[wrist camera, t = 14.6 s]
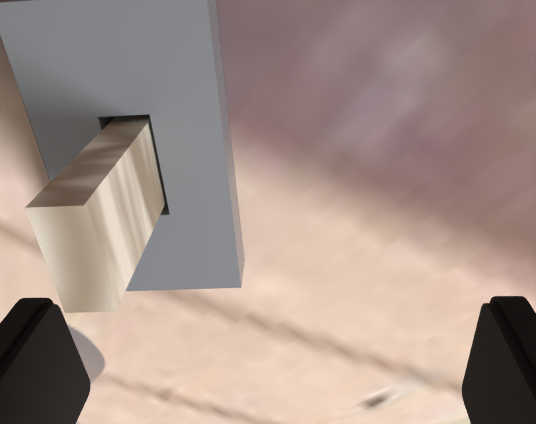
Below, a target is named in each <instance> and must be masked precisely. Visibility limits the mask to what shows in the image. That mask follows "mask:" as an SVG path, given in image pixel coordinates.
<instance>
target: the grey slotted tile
mask: <svg viewBox="0 0 536 424" xmlns="http://www.w3.org/2000/svg"><path fill="white" fill-rule="evenodd" d="M0 36H1V39H2V42H3V45H4V48H5V51H6V54H7V56H8V59H9V62H10V65H11V68H12V71H13V74H14V77H15V80H16V83H17V86H18V89H19V91H20V94H21V97H22V100H23V103H24V106H25V109H26V112H27V115H28V118H29V121H30V124H31V127H32V129H33V132H34V135H35V138H36V141H37V144H38V147H39V150H40V153H41V156H42V159H43V162H44V165H45V167H46V170H47V173H48V176H49V179H50V182H51V181H52V180H53V179H54V178H55V177H56V176H57V175H58V174H59V173H60V172H61V171H62V170H63V169H64V168H65V167H66V166H67V165H68V164H69V163H70V162H71V161H72V160H73V159H74V158H75V157H76V156H77V155H78V154H79V153H80V152H81V151H82V150H83V149H84V148H85V147H86V146H87V145H88V144H89V143H90V142H91V141H92V140H93V139H94V138H95V137H96V136H97V135H98V134H99V133H100V132H101V131H102V130H103V129H104V128H105V127H106V126H107V125H108V124H109V123H110V122H111V121H112V120H113V119H114V118H115V117H116V116H127V115H146V114H150V119H151V124H152V129H153V134H154V139H155V144H156V149H157V154H158V159H159V164H160V169H161V174H162V178H163V183H164V188H165V193H166V198H167V201H166V203H165V206H164V208H163V210H162V212H161V214H160V217H159V219H158V221H157V223H156V225H155V227H154V230H153V232H152V234H151V236H150V238H149V240H148V243H147V245H146V247H145V249H144V251H143V254H142V256H141V258H140V260H139V262H138V264H137V267H136V269H135V271H134V273H133V275H132V278H131V280H130V282H129V284H128V286H127V288H126V291H146V290H178V289H211V288H241V285H242V277H243V268H244V252H243V243H242V234H241V225H240V216H239V207H238V198H237V189H236V180H235V171H234V162H233V153H232V143H231V134H230V125H229V116H228V107H227V98H226V89H225V80H224V71H223V62H222V53H221V44H220V35H219V25H218V16H217V7H216V0H5V1H0Z"/></svg>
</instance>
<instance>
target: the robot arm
mask: <svg viewBox="0 0 536 424" xmlns="http://www.w3.org/2000/svg"><path fill="white" fill-rule="evenodd" d="M89 392H90V379H89V377H88V374H87V372H86V370H85V367H84V365H83V362H82V360H81V357H80V355H79V353H78V350H77V348H76V345H75V343H74V341H73V338H72V336H71V333H70V331H69V329H68V326H67V324H66V321H65V319H64V316H63V314H62V312H61V309H60V307H59V306H58V305H57V304H54V303H53V301H52V300H51V299H49V298H22V299H20V300H19V301H18V302H17V303H16V304H15V305H14V307H13V308H12V309H11V310H10V312H9V313H8V314H7V316H6V317H5V318H4V319H3V321H2V322H1V323H0V424H76V422H77V419H78V417H79V415H80V413H81V411H82V409H83V406H84V404H85V402H86V400H87V398H88V395H89ZM462 396H463V401H464V405H465V407H466V410H467V413H468V416H469V419H470V422H471V424H536V313H535V312H534V310H533V308H532V307H531V305H530V303H529V302H528V301H527V299H526V298H525V297H523V296H495V297H492V298H491V300H490V303H484V304H483V305H482V307H481V311H480V315H479V319H478V323H477V327H476V331H475V335H474V339H473V343H472V347H471V351H470V355H469V359H468V364H467V368H466V372H465V376H464V380H463V384H462Z"/></svg>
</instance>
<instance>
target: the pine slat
mask: <svg viewBox="0 0 536 424" xmlns="http://www.w3.org/2000/svg"><path fill="white" fill-rule="evenodd" d="M166 201H167V198H166V193H165V188H164V183H163V178H162V174H161V169H160V164H159V159H158V154H157V149H156V144H155V139H154V134H153V129H152V124H151V119H150V114H146V115H127V116H116V117H115V118H114V119H113V120H112V121H111V122H110V123H109V124H108V125H107V126H106V127H105V128H104V129H103V130H102V131H101V132H100V133H99V134H98V135H97V136H96V137H95V138H94V139H93V140H92V141H91V142H90V143H89V144H88V145H87V146H86V147H85V148H84V149H83V150H82V151H81V152H80V153H79V154H78V155H77V156H76V157H75V158H74V159H73V160H72V161H71V162H70V163H69V164H68V165H67V166H66V167H65V168H64V169H63V170H62V171H61V172H60V173H59V174H58V175H57V176H56V177H55V178H54V179H53V180H52V181H51V182H50V183H49V184H48V185H47V186H46V187H45V188H44V189H43V190H42V191H41V192H40V193H39V194H38V195H37V196H36V197H35V198H34V199H33V200H32V201H31V202H30V203H29V204H28V205H27V206H26V207H25V209H26V211H27V214H28V217H29V219H30V222H31V225H32V227H33V230H34V232H35V235H36V238H37V240H38V243H39V246H40V248H41V251H42V253H43V256H44V259H45V261H46V264H47V267H48V269H49V272H50V274H51V277H52V280H53V282H54V285H55V288H56V290H57V293H58V295H59V298H60V301H61V303H62V306H63V309H64V311H65V313H75V312H115V311H116V310H117V308H118V306H119V304H120V302H121V299H122V297H123V295H124V293H125V291H126V288H127V286H128V284H129V282H130V280H131V278H132V275H133V273H134V271H135V269H136V267H137V264H138V262H139V260H140V258H141V256H142V254H143V251H144V249H145V247H146V245H147V243H148V240H149V238H150V236H151V234H152V232H153V230H154V227H155V225H156V223H157V221H158V219H159V217H160V214H161V212H162V210H163V208H164V206H165V203H166Z"/></svg>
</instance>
